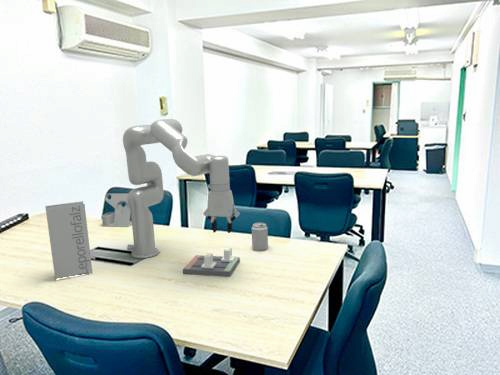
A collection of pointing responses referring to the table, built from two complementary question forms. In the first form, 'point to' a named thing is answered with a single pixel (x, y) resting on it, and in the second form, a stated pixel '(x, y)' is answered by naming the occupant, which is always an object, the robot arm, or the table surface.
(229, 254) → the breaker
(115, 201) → the phone holder
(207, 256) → the breaker
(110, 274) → the table surface
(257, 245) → the can
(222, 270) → the slider switch panel
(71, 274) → the brochure
